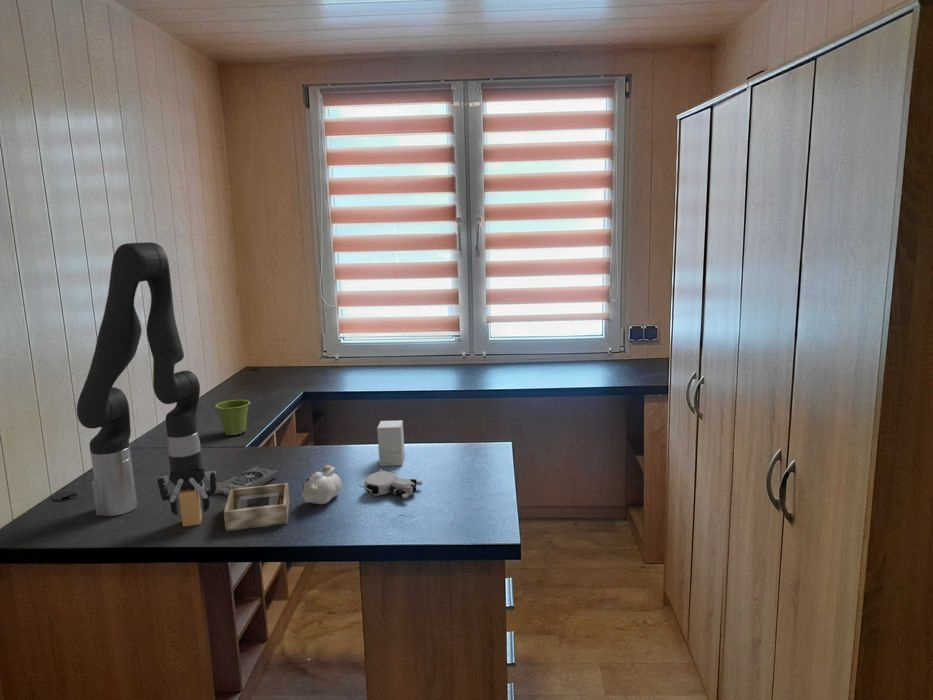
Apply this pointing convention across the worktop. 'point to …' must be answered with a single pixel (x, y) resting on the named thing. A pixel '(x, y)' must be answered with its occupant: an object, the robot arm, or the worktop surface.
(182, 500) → the orange rectangular block
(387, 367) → the worktop surface
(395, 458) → the supplement box
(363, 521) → the worktop surface
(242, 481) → the graphics card
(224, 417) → the plant pot
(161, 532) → the worktop surface
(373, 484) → the robot toy
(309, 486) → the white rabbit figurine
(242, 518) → the walled box
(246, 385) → the worktop surface
